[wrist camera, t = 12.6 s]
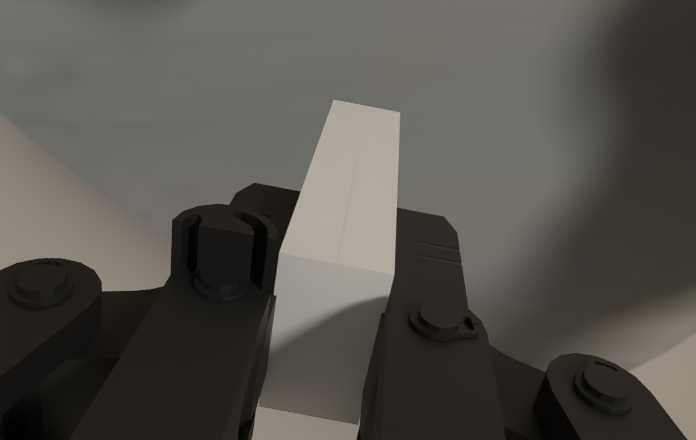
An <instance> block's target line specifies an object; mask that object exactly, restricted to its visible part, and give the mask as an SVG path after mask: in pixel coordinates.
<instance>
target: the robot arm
mask: <svg viewBox="0 0 696 440" xmlns="http://www.w3.org/2000/svg"><path fill="white" fill-rule="evenodd" d="M399 128H400V112H395V111H390V110H385V109H379V108H374V107H369V106H363V105H358V104H353V103H348V102H342V101H337V100H333V103H332V106H331V109H330V112H329V114H328V117H327V120H326V123H325V126H324V128H323V131H322V134H321V137H320V140H319V142H318V145H317V148H316V151H315V154H314V156H313V159H312V162H311V165H310V168H309V170H308V173H307V176H306V179H305V182H304V184H303V187H302V190H301V192H300V191H295V190H289V189H284V188H279V187H273V186H268V185H263V184H257V183H253V184H251V185H250V186H248V187H246V188H244V189H242V190H241V191H239V192H237V193H236V194H235V196H234V198H233V199H232V201H231V203H230V205H224V204H213V205H203V206H197V207H194V208H191V209H188V210H186V211H183V212H182V213H180V214H179V215H178V216H177V217H175V218H174V219H173V220H172V248H171V275H170V277H169V278H168V280H167V282H166V284H165V285H164V286H163V287H159V288H155V289H150V290H139V291H105V292H102V283H101V280H100V278H99V277H98V275H97V274H96V272H95V271H94V270H93V269H91V268H89V267H87V266H86V265H84V264H82V263H80V262H76V261H71V260H66V259H61V258H56V259H55V258H50V259H49V258H44V259H34V260H29V261H25V262H19V263H16V264H14V265H11V266H9V267H7V268H4V269H2V270H0V440H251V439H252V435H253V427H254V419H255V411H256V407H257V404H258V400H259V397H260V401H259V406H261V407H266V408H272V409H277V410H283V411H288V412H293V413H299V414H304V415H309V416H315V417H320V418H325V419H330V420H336V421H341V422H347V423H352V424H357V425H358V421H359V417H360V413H361V417H360V427H359V431H358V436H357V440H687V439H686V437H685V436H684V435H683V433H682V432H681V431H680V430H679V428H678V427H677V426H676V424H675V423H674V422H673V420H672V419H671V418H670V417H669V415H668V414H667V413H666V411H665V410H664V409H663V408H662V406H661V405H660V404H659V402H658V401H657V400H656V398H655V397H654V396H653V394H652V393H651V392H650V391H649V390H648V389H647V388H646V387H645V386H644V385H643V384H642V383H641V382H640V381H639V380H638V379H637V378H636V377H635V376H633V375H632V374H630V373H629V372H627V371H626V370H624V369H623V368H621V367H620V366H618V365H616V364H614V363H612V362H610V361H606V360H605V359H601V358H599V357H596V356H591V355H585V354H579V353H574V354H566V355H560V356H559V357H557V358H556V359H555V360H553V361H552V362H550V364H549V366H548V369H547V371H546V372H544V371H541V370H539V369H536V368H534V367H531V366H529V365H527V364H524V363H522V362H519V361H517V360H515V359H513V358H511V357H509V356H507V355H505V354H503V353H501V352H499V351H498V350H496V349H495V348H494V347H492V346H491V345H489V341H488V335H487V332H486V330H485V328H484V326H483V323H482V321H481V320H480V319H479V318H478V317H477V316H476V315H475V314H474V313H472V312H471V311H470V310H469V309H468V304H467V297H466V290H465V283H464V276H463V270H462V265H461V256H460V252H459V242H458V235H457V232H456V231H455V229H454V228H453V227H452V226H451V225H450V223H449V222H448V221H447V220H446V219H445V217H443V216H438V215H432V214H427V213H422V212H417V211H411V210H406V209H401V208H397V186H398V157H399Z"/></svg>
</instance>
